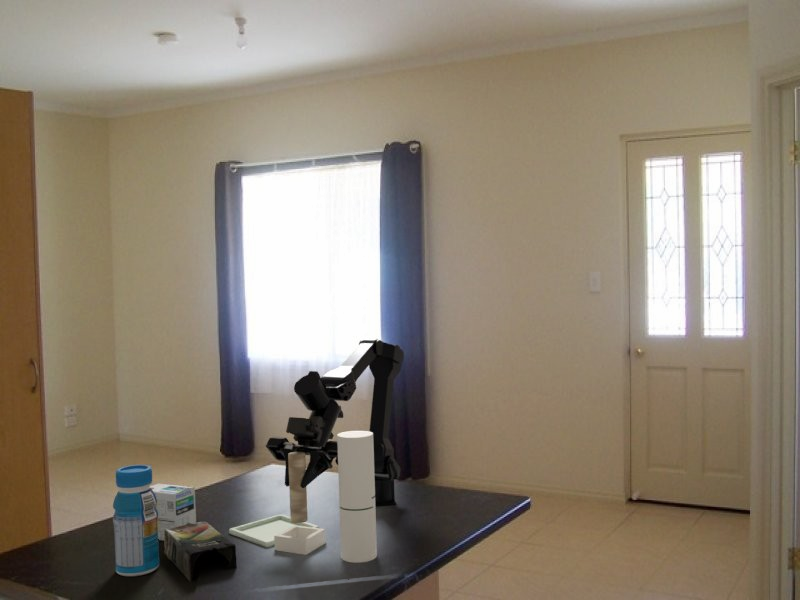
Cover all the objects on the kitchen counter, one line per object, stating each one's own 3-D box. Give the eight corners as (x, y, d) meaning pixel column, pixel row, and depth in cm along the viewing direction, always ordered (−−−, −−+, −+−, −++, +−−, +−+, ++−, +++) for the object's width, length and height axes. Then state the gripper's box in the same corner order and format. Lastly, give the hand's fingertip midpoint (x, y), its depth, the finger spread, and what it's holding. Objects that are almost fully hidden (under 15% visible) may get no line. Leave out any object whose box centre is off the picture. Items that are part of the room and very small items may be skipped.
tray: (281, 520, 183) (281, 514, 183) (319, 533, 173) (319, 526, 173) (229, 536, 173) (229, 528, 173) (266, 550, 164) (266, 542, 163)
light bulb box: (197, 534, 176) (196, 486, 175) (177, 543, 170) (175, 493, 169) (160, 528, 180) (158, 482, 180) (139, 538, 174) (137, 489, 174)
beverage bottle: (116, 580, 149) (112, 475, 148) (113, 566, 157) (109, 466, 156) (162, 573, 152) (158, 470, 152) (157, 559, 160) (153, 461, 160)
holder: (295, 541, 169) (294, 525, 169) (325, 545, 165) (325, 528, 165) (274, 552, 162) (274, 535, 162) (306, 557, 158) (305, 540, 158)
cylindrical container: (382, 554, 159) (378, 431, 158) (369, 566, 152) (365, 438, 152) (349, 551, 161) (345, 430, 161) (335, 563, 155) (331, 437, 154)
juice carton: (160, 553, 164) (159, 524, 164) (206, 544, 169) (206, 516, 169) (188, 585, 147) (187, 552, 147) (239, 574, 152) (238, 542, 152)
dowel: (306, 517, 166) (304, 451, 165) (308, 522, 162) (305, 454, 162) (290, 518, 165) (287, 452, 164) (291, 523, 161) (288, 456, 161)
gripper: (269, 399, 170) (239, 461, 161) (343, 403, 162) (316, 469, 153) (291, 429, 178) (263, 490, 168) (363, 434, 169) (339, 498, 160)
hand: (294, 486), depth 162 cm, fingers closed on dowel, 3 cm apart
